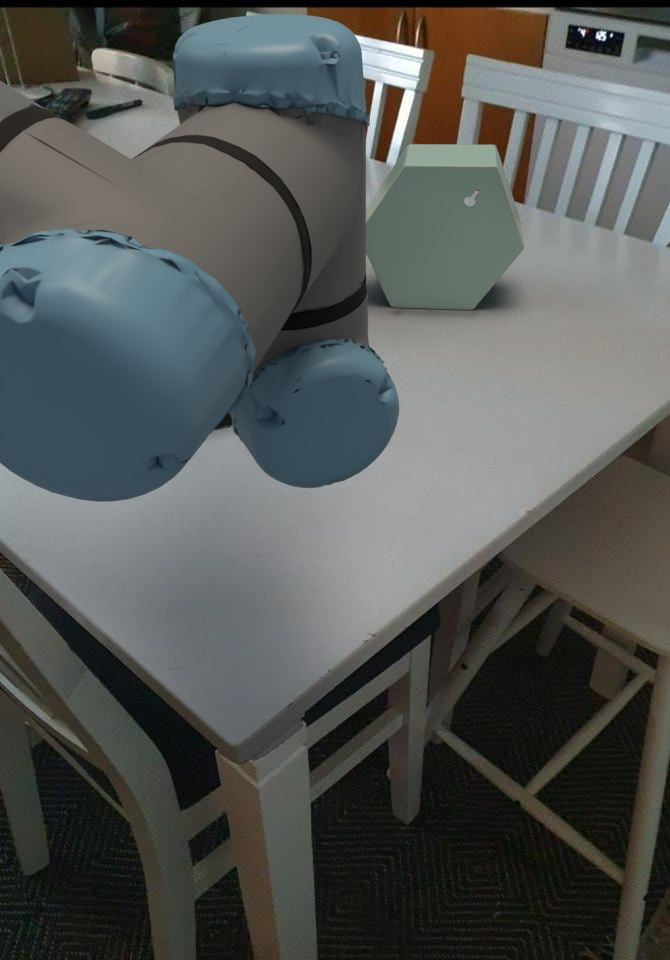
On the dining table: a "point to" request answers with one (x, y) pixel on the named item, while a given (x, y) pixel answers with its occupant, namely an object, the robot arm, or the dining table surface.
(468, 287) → the green hexagonal block
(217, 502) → the dining table surface
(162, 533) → the dining table surface
